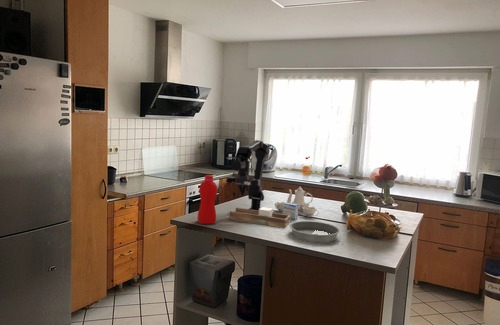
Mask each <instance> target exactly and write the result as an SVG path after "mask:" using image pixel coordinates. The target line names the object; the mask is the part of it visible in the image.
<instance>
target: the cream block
mask: <svg viewBox="0 0 500 325" xmlns="http://www.w3.org/2000/svg"><path fill="white" fill-rule="evenodd" d="M272 213H273V208H271V207H265V206H264V207H263V206H261V207H260V209H259V215H260V216H267V217H272Z"/></svg>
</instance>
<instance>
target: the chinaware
mask: <svg viewBox="0 0 500 325" xmlns="http://www.w3.org/2000/svg"><path fill="white" fill-rule="evenodd" d="M288 191H289V195H288V197H287V201H286V202H287V203H293V204H298V205H299V208H298V215H304V216H305V217H306V218H312V217H315V216H318V215H319V211H318V210H317V209H318V208H316V207H314V206H311V207H310V204H311V203H312V202H313V199H314V198H313V195H312V194H311V193H309V192H306V191H305V190H303V188H302V187H301V186H299V187H298V188H297V189H295V190H294V198H293V197H292V196H293V191H292V189H288ZM307 195H309V196H310V197H311V200H310V201H309V202H305V197H307ZM292 198H293V201H292ZM284 203H285V202H284V201H281V202H279V201H276V202H275V203H274V208H275V209H276V210H277V211H278V213H280V214H283V205H284ZM316 212H317V214H315V213H316Z"/></svg>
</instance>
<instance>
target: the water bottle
mask: <svg viewBox="0 0 500 325" xmlns="http://www.w3.org/2000/svg"><path fill="white" fill-rule="evenodd" d="M198 190H199V191H198V192H199V197H200V204H199V208H198V211H197V212H198V213H197V222H198V223H199V224H202V225H213V224H215V223H216V221H217V213H216V212H217V211H216V207H215V206H216V205H215V204H216V199H217V194H218V185H217V183H215V182H214V175H210V174H206V175H204V181H202V182H201V183H200V185H199V189H198Z"/></svg>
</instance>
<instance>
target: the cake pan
mask: <svg viewBox="0 0 500 325" xmlns="http://www.w3.org/2000/svg"><path fill="white" fill-rule="evenodd" d="M289 228H290V230H291V232H292V236H293V237H294V236H295V237H294V238H296V239H298V238H299V239H298V240H301V241H304V240H305V241H306V242H309V243H316V242H327V243H332V242H334V240H335V239H337V237H338V234H340V232H341V230H340V228H339V227H337V226H335V225H333V224H329V223H325V222H321V221H313V220H312V221H311V220H303V221H295V222H292V223H289ZM315 230H316V231H317V230H318V231H324V232H327V233H328V235H318V234H312V233H313V232H314V231H315ZM329 233H330V234H329ZM331 241H332V242H331ZM335 241H336V240H335Z"/></svg>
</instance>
